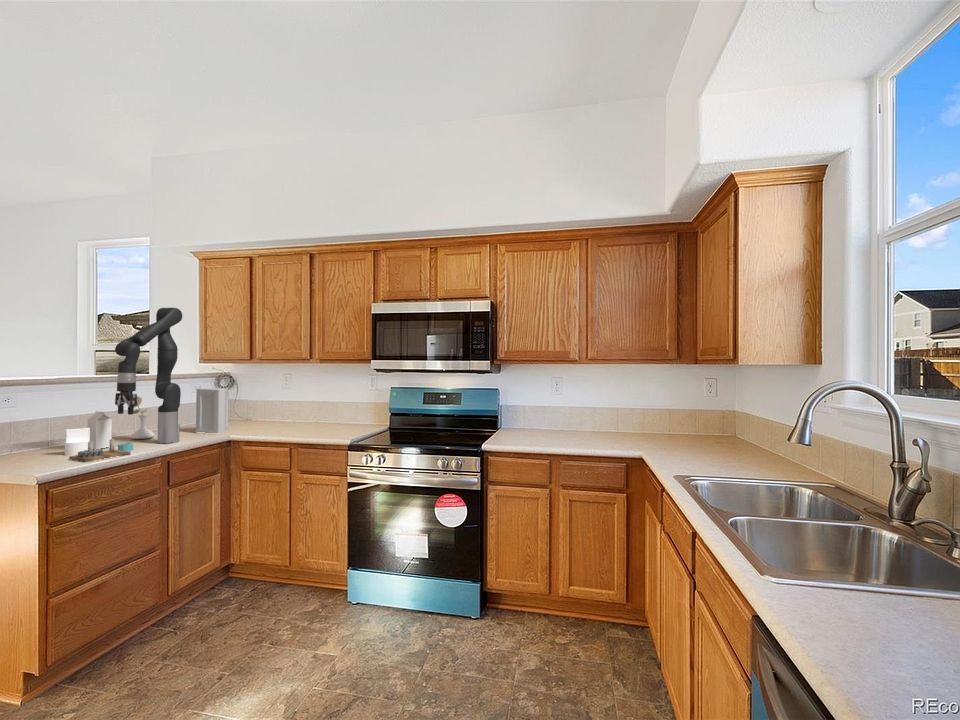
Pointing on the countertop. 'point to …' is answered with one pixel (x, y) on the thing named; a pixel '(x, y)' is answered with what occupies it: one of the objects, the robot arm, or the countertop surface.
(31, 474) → the countertop surface
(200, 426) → the grey box
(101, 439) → the milk carton
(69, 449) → the base with upright slab
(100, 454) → the gear board
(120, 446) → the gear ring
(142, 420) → the flower in vase
